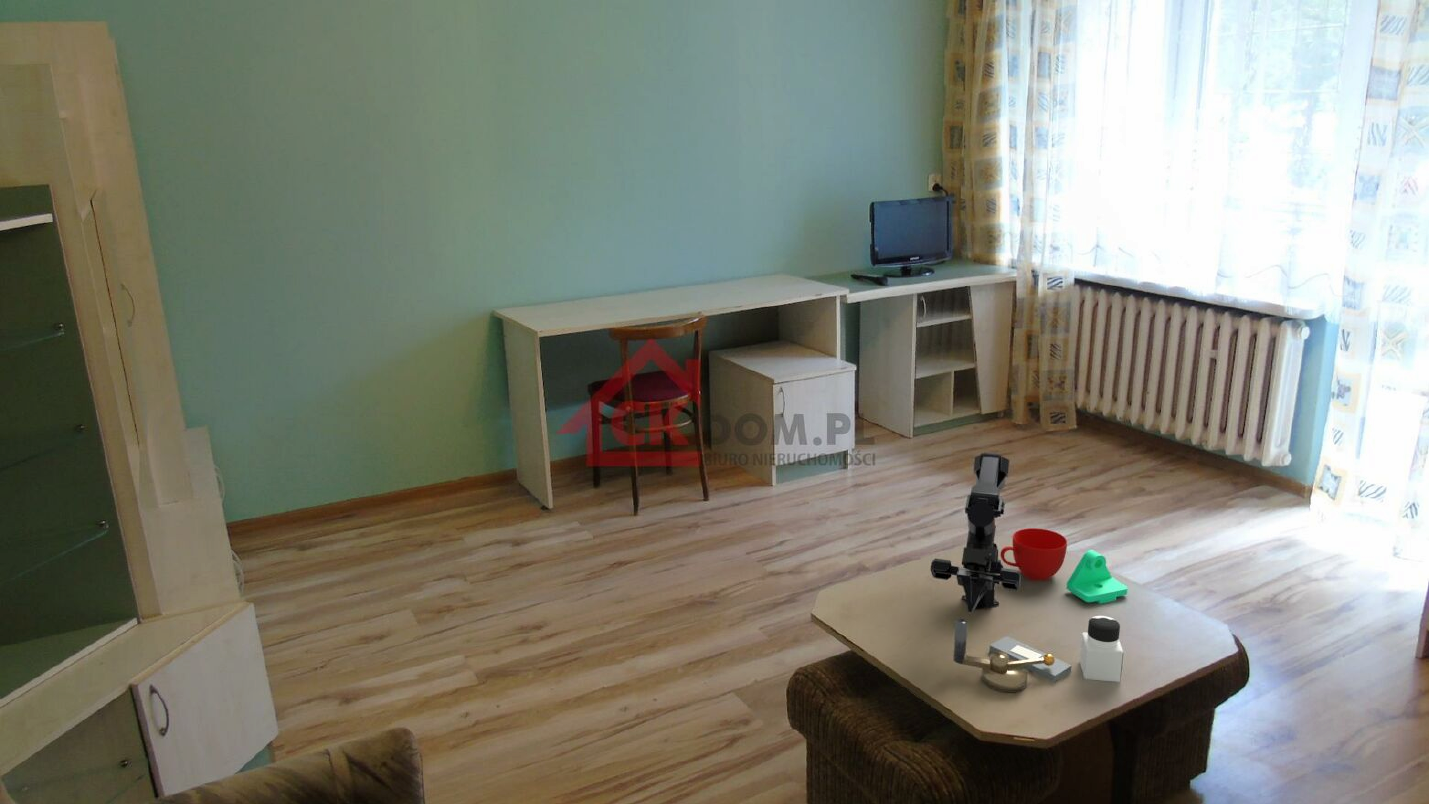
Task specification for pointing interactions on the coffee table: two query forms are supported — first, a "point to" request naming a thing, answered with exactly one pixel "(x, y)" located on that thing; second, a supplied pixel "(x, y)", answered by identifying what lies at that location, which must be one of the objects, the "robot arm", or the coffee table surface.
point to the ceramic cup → (1037, 553)
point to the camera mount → (1094, 580)
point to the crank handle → (995, 664)
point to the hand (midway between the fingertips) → (970, 611)
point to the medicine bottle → (1101, 650)
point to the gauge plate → (1025, 652)
